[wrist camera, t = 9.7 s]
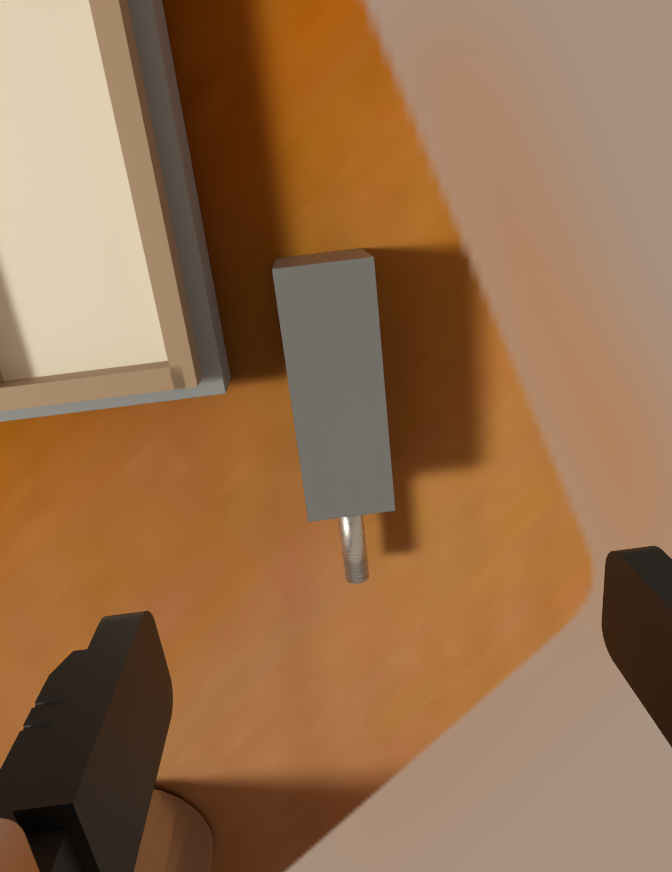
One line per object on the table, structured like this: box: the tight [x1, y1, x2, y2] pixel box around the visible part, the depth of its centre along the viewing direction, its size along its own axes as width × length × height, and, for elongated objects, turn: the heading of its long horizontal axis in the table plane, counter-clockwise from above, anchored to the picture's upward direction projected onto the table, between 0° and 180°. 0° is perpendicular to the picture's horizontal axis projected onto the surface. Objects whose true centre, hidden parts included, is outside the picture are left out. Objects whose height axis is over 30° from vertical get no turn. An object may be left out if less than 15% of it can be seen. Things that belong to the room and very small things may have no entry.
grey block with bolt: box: [272, 248, 395, 584], centre depth 23 cm, size 13×3×4 cm, turn 6°
